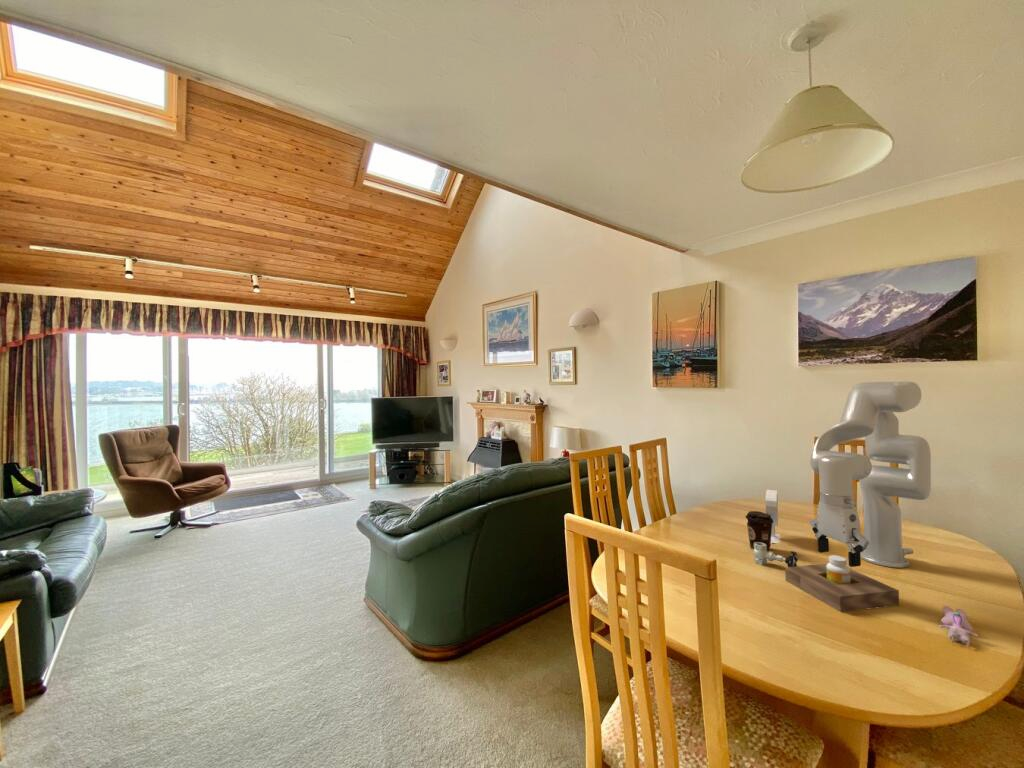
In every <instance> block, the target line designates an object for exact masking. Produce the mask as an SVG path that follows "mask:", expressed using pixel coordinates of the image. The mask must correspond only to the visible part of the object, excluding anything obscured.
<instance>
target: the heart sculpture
mask: <svg viewBox="0 0 1024 768" xmlns="http://www.w3.org/2000/svg"><path fill="white" fill-rule="evenodd" d="M778 501H779V499H778V490H775V489H774V490H773V489H766V492H765V513H766V514H769V515H770V516H771V518H772V520H773V523H772V530H771V531H772V533H771V543H772V542H773V543H780V544H781V540H779V539H780V535H781V534H779V533H776V526H779V517H778V516H779V502H778ZM775 533H776V534H775ZM779 541H780V542H779Z"/></svg>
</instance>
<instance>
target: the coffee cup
mask: <svg viewBox="0 0 1024 768" xmlns="http://www.w3.org/2000/svg"><path fill="white" fill-rule="evenodd" d="M745 519H747V522H746V525H747V533H748V535H747V536H748V540H749V547H750V549H751V550H754V543H755V542H762V543H765V544H766V546H767V550H766V551H767V552H769V551H771V549H770V548H771V545H772V544H771V533H772V531H771V530H772V523H773V520H772V518H771V516H770V515H769V514H766V512H763V511H760V510H759V511H758V510H757V511H756V510H755V511H754V510H752V511H751V510H750V511H748V512H747V514H746V515H745Z"/></svg>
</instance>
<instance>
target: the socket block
mask: <svg viewBox="0 0 1024 768" xmlns="http://www.w3.org/2000/svg"><path fill="white" fill-rule="evenodd" d="M827 564H828V563H820V564H810V565H809V564H807V565H797V566H795V567H788V566H787V567H786V566H785V567H784V569H785V571H784V573H785V574H784V575H785V581H786V582H787V581H788V582H787V583H789V584H791V585H792V586H795V587H796V588H798V589H799V590H802V591H803V592H805V593H806V594H809V595H811V596H812V597H814V598H816V599H818V600H819V601H820V602H822V603H824V604H826V605H828V606H829V607H831V608H832V609H835V610H837V611H838V612H841V613H843V612H851V611H860V609H862V610H868V609H867V608H871V609H877V608H876V607H880V608H885V607H884V606H889V607H894V606H893V605H898V606H900V592H899V589H896V588H894V587H892V586H890V585H887V584H885V583H883V582H881V581H879V580H876V579H874V578H873V577H871V576H870V577H869V576H867V575H865V574H863V573H861V572H858V571H857V570H854V569H852V568H849V567H848V568H849V569H850V580H851V584H843V585H838V584H836V583H834V582H832V581H830V580H828V579H827V569H826V566H827Z"/></svg>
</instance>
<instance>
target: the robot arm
mask: <svg viewBox="0 0 1024 768" xmlns="http://www.w3.org/2000/svg"><path fill="white" fill-rule="evenodd" d="M921 400H922V390H921V387H920V386H919V385H918V384H917V383H916V382H914V381H866V382H859V383H856V384H854V385H853V386H852V388H851V390H850V391H849V393H848V395H847V398H846V400H845V401H846V402H845V404H844V408H843V412H842V414H841V417H840V421H839V422H838V423H836V424H834V425H833V426H831V427H829V428H827V429H826V430H825V431H824V432H822V433H821V434H820V435H819V436H818V437H817V439H816V440H815V442H814V446H813V449H812V452H811V455H810V460H809V461H810V467H811V469H812V470H813V472H815V473H817V474H818V475H819V476H818V478H819V479H818V481H819V501H818V505H817V512H816V514H817V515H816V518H814V519H810V520H809V523H810V525H811V529H812V532H813V533H814V534H815V535H814V537H815V538H816V539H817V552H818V553H821V554H822V553H829V552H830V545H829V543H830V541H829V538H830V539H833V540H835V541H838V542H840V543H843V544H845V545H846V547H847V548H848V549H849V551H848V552H847V553H848V554H847V555H848V557H847V559H848V567H851V568H856V567H860V566H861V564H862V563H861V561H862V560H864V561H866V562H868V563H871V564H874V565H879V566H884V567H889V568H907V567H909V566H910V562H909V560H908V558H905V556H906V555H913V554H914V550H913V549H912V548H911V547H905V548H904V547H903V535H902V534H903V533H902V532H903V531H902V528H903V527H902V511H901V508H900V506H899V505H898V503H897V501H896V500H894V497H895V498H902V499H907V500H915V501H925V500H927V499H928V498H929V497H930V495H931V491H932V490H931V489H932V488H931V487H932V484H931V483H932V474H931V473H932V466H931V465H932V463H931V462H932V461H931V459H932V454H931V452H932V451H931V447H930V444H929V442H928V441H927V439H926V438H924V437H922V436H917V435H911V434H910V435H908V434H900V430H899V427H900V426H899V418H898V417H897V415H896V413H905V412H908V411H910V410H913V409H914V408H916V407H918V406H919V404H920V402H921ZM862 438H864V449H865V455H866V456H865V455H863V454H861V453H857V452H856V453H854V452H845V451H837V450H835V451H834V450H832V448H834V447H835V446H837V445H840V444H843V443H845V442H851V441H854V440H857V439H862ZM871 460H872V461H874V462H875V461H876V462H882V463H890V464H900V465H906V466H908V467H909V468H902V467H895V466H894V467H893V466H886V465H872V462H871ZM853 480H854V481H857V480H858V481H859V485H860V489H861V495H862V496H861V497H862V506H863V507H862V509H863V534H862V529H861V528H862V527H861V521H860V517H859V516H860V515H859V513H858V510H857V507H856V506H854V505H856V500H854V492H853V491H854V489H853ZM861 559H862V560H861Z"/></svg>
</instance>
